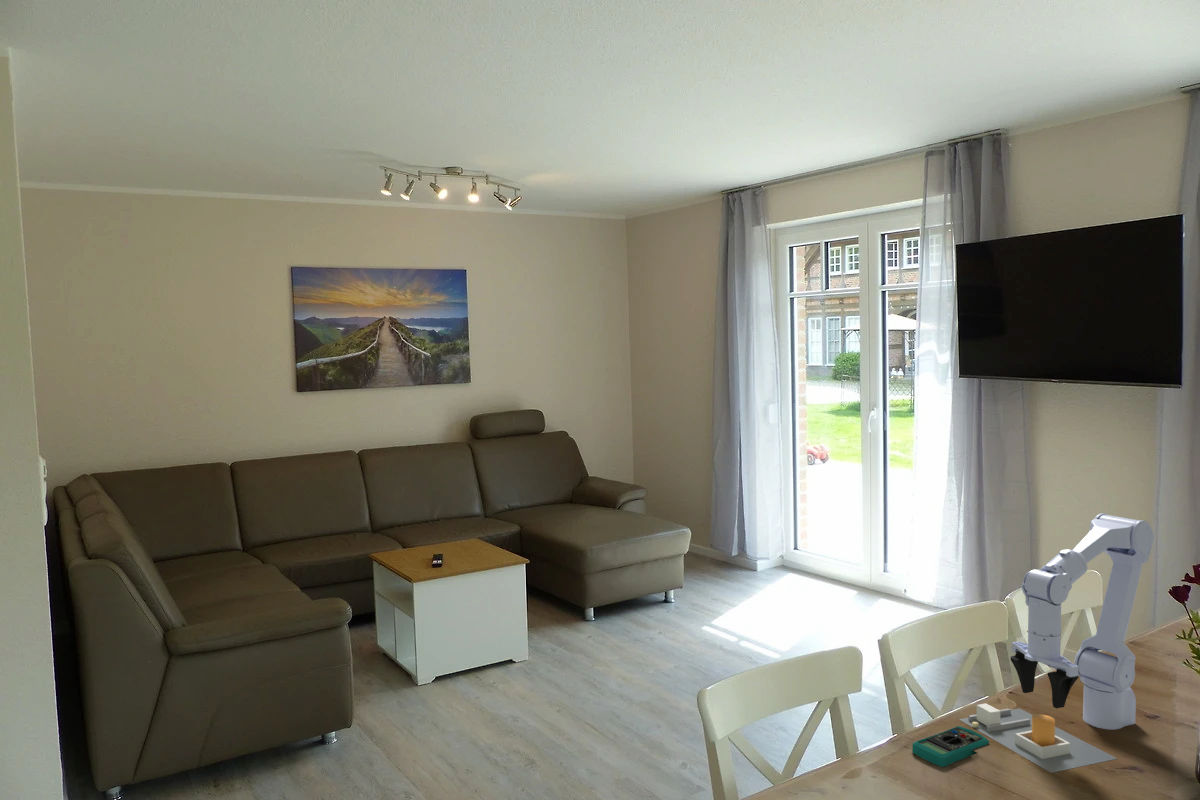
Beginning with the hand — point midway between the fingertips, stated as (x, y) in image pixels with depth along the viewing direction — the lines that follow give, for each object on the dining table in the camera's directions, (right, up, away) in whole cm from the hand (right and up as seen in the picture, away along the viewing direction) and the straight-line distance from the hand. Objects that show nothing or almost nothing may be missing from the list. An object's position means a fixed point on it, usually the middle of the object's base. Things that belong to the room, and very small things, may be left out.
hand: (1042, 699), depth 170 cm
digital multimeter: (-18, -11, 0) cm, 21 cm away
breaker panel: (-1, -10, +3) cm, 10 cm away
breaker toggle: (-7, -8, +9) cm, 14 cm away
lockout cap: (-1, -9, -2) cm, 9 cm away
